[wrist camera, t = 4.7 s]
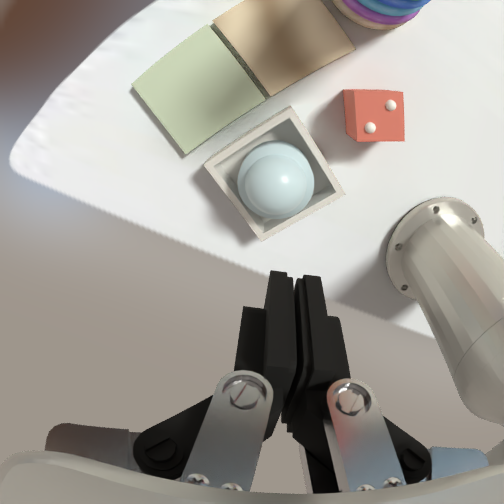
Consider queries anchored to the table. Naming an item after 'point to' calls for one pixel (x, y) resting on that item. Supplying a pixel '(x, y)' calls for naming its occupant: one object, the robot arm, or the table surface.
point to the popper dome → (275, 180)
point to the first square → (283, 38)
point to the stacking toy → (380, 12)
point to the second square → (197, 89)
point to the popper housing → (274, 128)
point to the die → (374, 115)
